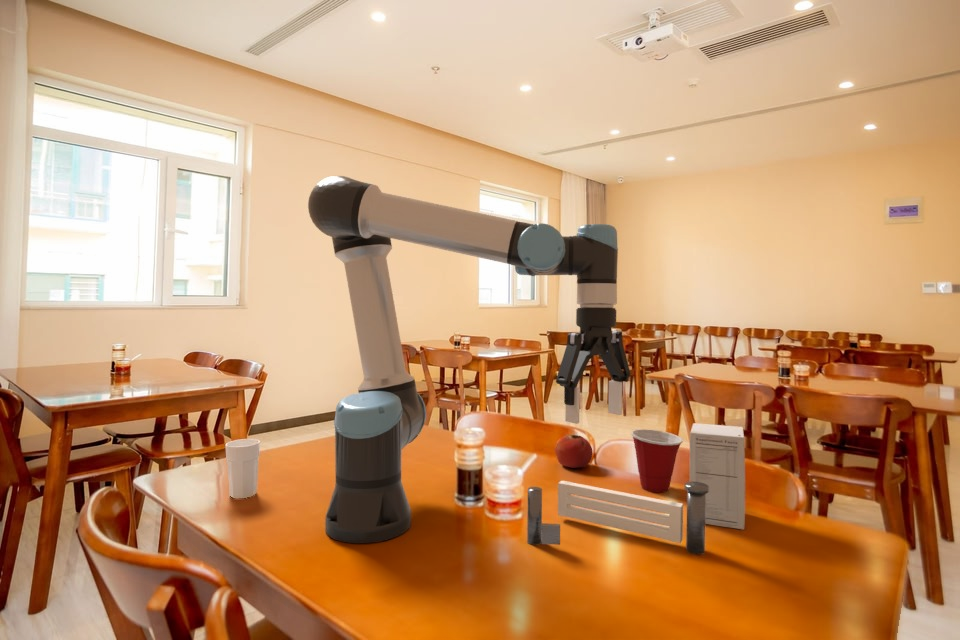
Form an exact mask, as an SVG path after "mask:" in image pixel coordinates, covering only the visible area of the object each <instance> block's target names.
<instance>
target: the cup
mask: <svg viewBox="0 0 960 640" xmlns="http://www.w3.org/2000/svg"><path fill="white" fill-rule="evenodd" d="M224 447H225V457H226V462H227V463H226V465H227V476H228V490H229V491H228V492H229V497H230V496H231V497H233V498H246V497H250V496H253V495H254V494H255V493H256V492H257V493H258V479H259V478H258V476H259V475H258V474H259V458H260V453H261V450H260V449H261V441H260V439H257V438H256V439H255V438H242V439H235V440H231V441H228V442H226V443H225V446H224ZM254 496H255V495H254ZM254 496H253V497H254ZM231 497H230V498H231ZM250 498H251V497H250ZM246 499H247V498H246Z"/></svg>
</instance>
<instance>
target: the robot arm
mask: <svg viewBox="0 0 960 640" xmlns="http://www.w3.org/2000/svg"><path fill="white" fill-rule="evenodd" d="M307 208H308V213H309V217H310V220H311V221H312V223H313V224H314V226H315V227H316V228H317V229H318V230H319V231H320V232H321V233H323V234H324V235H326V236H329V237H331V240H332V245H333V252H334V257H336V259H338V260H340V261H341V262H342V263H343V264H344V270H345V276H346V281H347V287H348V293H349V300H350V305H351V310H352V316H353V321H354V328H355V333H356V334H355V335H356V340H357V344H358V350H359V356H360V363H361V367H362V368H361V369H362V373H363V379H362V382H361V383H360V385H359V386H358V387H357V388H358V389H357V390H358V393H353V394H349V395H347V396H345V397H343V398H341V399H340V400H339V402H338V403H337V404H336V408H335V415H334V416H335V417H334V420H333V424H334V437H335V438H334V443H335V444H334V449H335V450H334V454H335V465H334V466H335V467H334V468H335V486H334V489H333V492H332V495H331V498H330V501H329V504H328V508H327V511H326V514H325V518H324V519H325V521H324V523H325V524H324V525H325V527H324V529H325V533H326V534H327V535H328V536H329V537H330V538H332V539H333V540H336V541H339V542H344V543H347V544H348V543H349V544H351V543H352V544H371V543H378V542H383V541H387V540H391V539H395V538H397V537H398V536H401V535H402V534H404V533H406V532H407V531H408V530H409V528H410V527H411V525H412V513H411V512H412V510H411V507H410V503H409V500H408V497H407V494H406V491H405V489H404V486H403V482H402V450H403V449H405V447H406V446H407V445H408V444H411V443H412V442H413V441H414V440H416V438H418V436H419V435H420V434H421V432H422V429H423V428H424V426H425V423H426V419H427V408H426V404H425V401H424V399H423V398H422V396H421V395H420V394H419V393H418V391H417V386H416V380H415V379H416V378H415V376H413V375H411V374H410V373H409V372H408V371H407V370H406V365H405V359H404V353H403V346H402V341H401V335H400V329H399V324H398V323H399V322H398V317H397V312H396V307H395V306H396V305H395V300H394V296H393V295H394V294H393V289H392V288H393V287H392V282H391V278H390V271H389V266H388V260H387V257H388V255H389V253H390V252H391V250H392V249H393V245H392V240H391V239H394V240H397V241H402V242H407V243H413V244H417V245H421V246H425V247H429V248H430V247H431V248H434V249H439V250H444V251H448V252H453V253H457V254H462V255H466V256H471V257H476V258H480V259H485V260H490V261H492V262H493V261H494V262H497V263H498V262H499V263H502V264H507V265H511V266H514V271H515V273H517V275H519V276H522V275H523V276H531V277H536V276H576V286H577V287H576V304H577V305H579V307H577V309H576V310H575V311H576V317H575V324H576V326H577V327H579V332H569V333H567V340H566V347H565V350H564V353H563V356H562V358H561V362H560V363H561V364H560V366H559V368H558V373H557V375H556V379H555V382H556V384H558V385H559V386H560V387H563V389H564V390H563V391H564V394H563V395H564V398H563V399H564V400H563V401H564V402H563V404H564V405H565V412H564V413H565V417H564V418H565V421H564V422H567V423H572V424H580V408H581V407H580V400H581V398H580V397H581V389H580V388H581V387H577V386H578V384H579V382H580V380H581V378H582V376H583V374H584V372H585V370H586V367H587V366H588V364H589V362H590V360H591V359H593V358H594V356H600V358H601V360H602V361H603V363H604V366H605V368H606V370H607V371H608V374H609V376H610V378H611V380H608V402H607V403H608V404H607V405H608V406H607V407H608V408H607V410H608V411H607V412H608V414H612V415H618V416H621V415H622V413H623V411H622V410H623V395H624V383H625V382H628V381H629V378H630V377H631V371H630V367H629V363H628V357H627V354H626V352H625V347H624V343H623V341H624V340H623V332H622V331H617V330H616V331H615V330H614V331H613V330H612V328H615V327H616V326H617V309H616V307H614V306H615V305H617V304H618V302H617V301H618V284H617V283H618V282H617V280H618V254H619V253H618V252H619V247H618V231H617V228H615V226H613V225H611V224H607V223H592V224H584V225H583V224H582V225H581V226H579V227H578V228H577V233H576V235H573V236H572V235H570V236H564V235H562V233H560V231H559V230H558V229H557V228H555V227H554V226H552V225H550V224H547V223H534V224H532V223H528V222H522V221H517V220H515V219H509V218H505V217H500V216H496V215H491V214H486V213H481V212H477V211H471V210H469V209H468V210H467V209H462V208H457V207H452V206H447V205H443V204H439V203H433V202H429V201H423V200H419V199H415V198H410V197H406V196H401V195H396V194H392V193H386V192H382V190H381V188H380V187H379V186H378V185H376V184H372V183H368V182H363V181H361V180H356V179H353V178H351V177H348V176H344V175H332V176H328V177H326V178H324V179H321V180H320V181H319V182H318V183H317V184H316V185H315V186H314V187H313V189H312V190H311V192H310V193H309V197H308V203H307Z"/></svg>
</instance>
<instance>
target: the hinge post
mask: <svg viewBox="0 0 960 640" xmlns="http://www.w3.org/2000/svg"><path fill="white" fill-rule="evenodd" d="M708 488H709V486H708V485H706V484H704V483H701V482H690V481H686V482H684V490H685V491H686V492H687V493H686V535H685V536H686V542H685V543H686V545H685V546H686V547H685V550H686V551H687V552H688V553H691V554H693V555H697V556H698V555H704V554H705V553H706V524H705V507H706V493H708Z"/></svg>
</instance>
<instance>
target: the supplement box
mask: <svg viewBox="0 0 960 640" xmlns="http://www.w3.org/2000/svg"><path fill="white" fill-rule="evenodd" d="M689 482H701V483H704V484H706V485H708V486H709V488H708V493H706V507H705V525H711V526H718V527H725V528H731V529H737V530H745V520H746V519H745V517H746V455H745V435H744V427H743V426H737V425H734V426H733V425H724V424H723V425H722V424H721V425H720V424H708V423H707V424H706V423H696V422H695V423H694V422H693V423H692V426H691V430H690V433H689Z"/></svg>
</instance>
